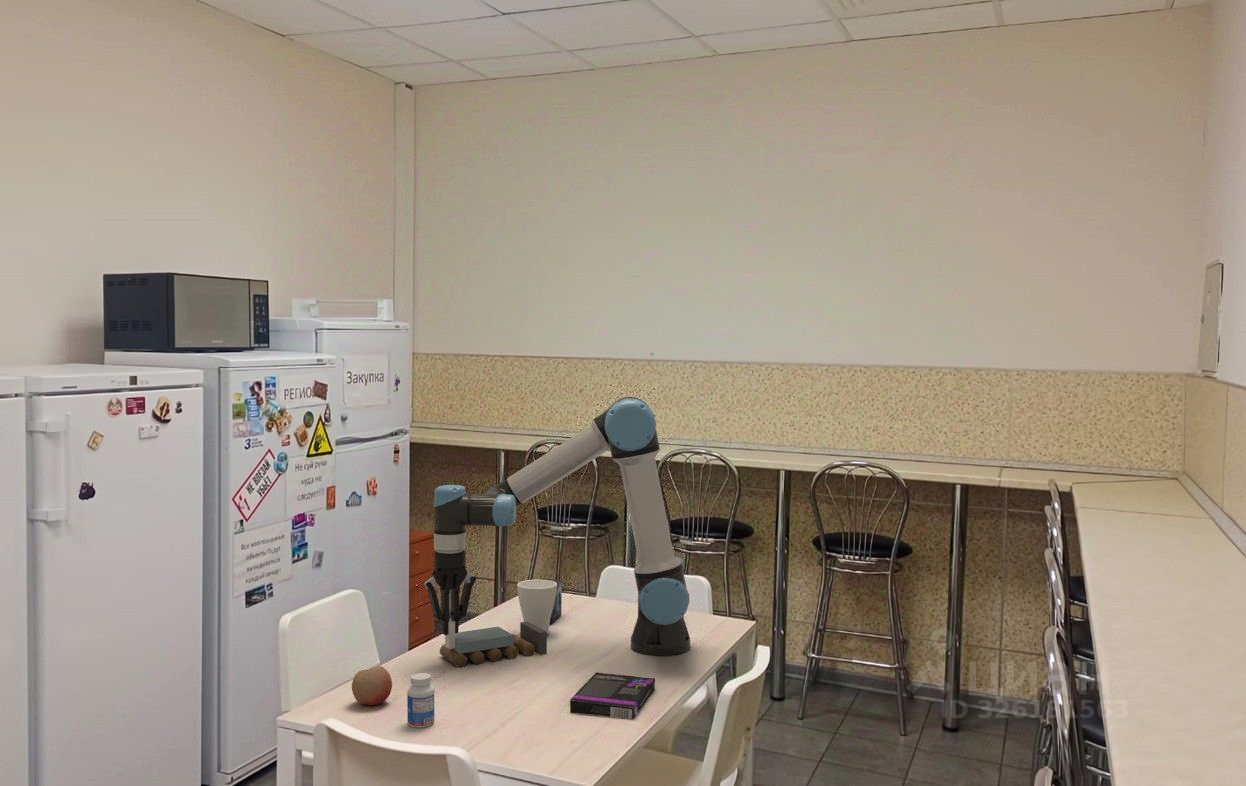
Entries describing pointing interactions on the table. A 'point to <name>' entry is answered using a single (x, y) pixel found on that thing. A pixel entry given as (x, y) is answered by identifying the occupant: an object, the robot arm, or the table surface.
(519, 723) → the table surface
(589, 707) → the box
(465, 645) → the slab
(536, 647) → the bar
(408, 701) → the pill bottle
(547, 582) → the cup
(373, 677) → the fruit
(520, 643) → the roller bed
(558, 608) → the small box
